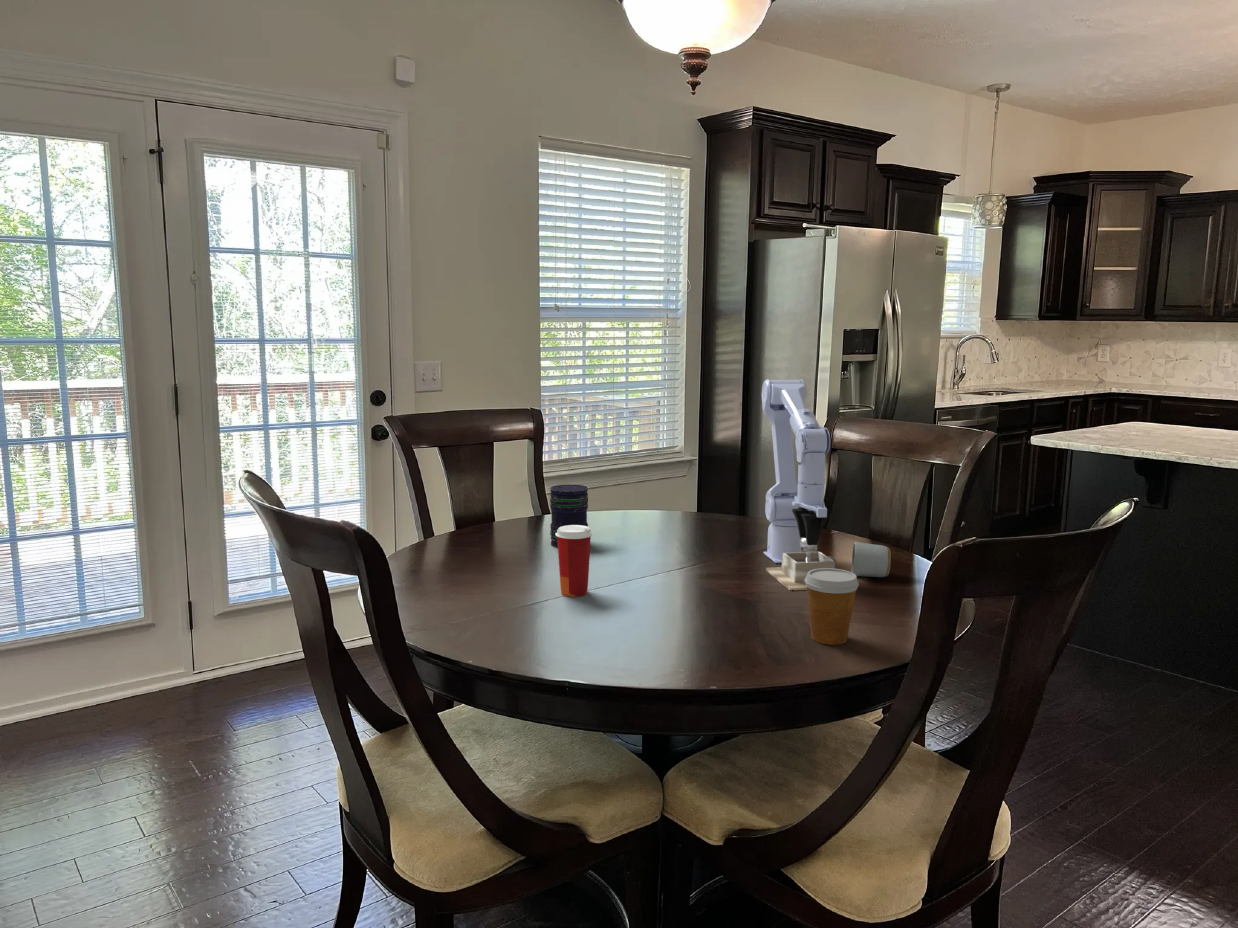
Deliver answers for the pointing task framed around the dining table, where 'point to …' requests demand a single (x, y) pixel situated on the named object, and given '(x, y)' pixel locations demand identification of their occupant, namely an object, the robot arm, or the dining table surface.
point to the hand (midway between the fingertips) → (808, 542)
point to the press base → (799, 568)
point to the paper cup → (574, 559)
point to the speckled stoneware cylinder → (870, 560)
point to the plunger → (807, 549)
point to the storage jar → (567, 508)
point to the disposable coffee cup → (830, 604)
